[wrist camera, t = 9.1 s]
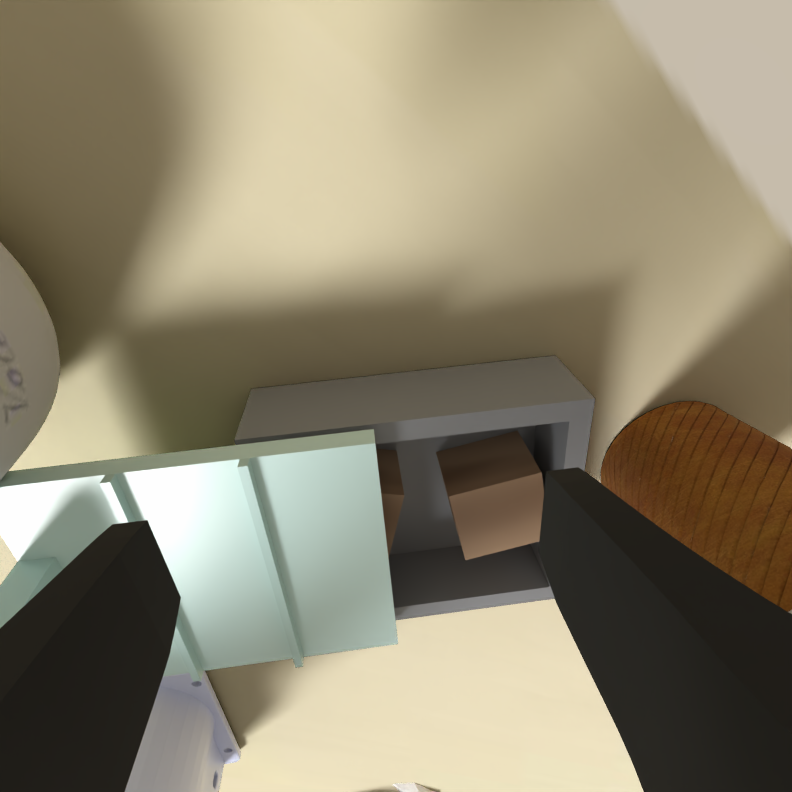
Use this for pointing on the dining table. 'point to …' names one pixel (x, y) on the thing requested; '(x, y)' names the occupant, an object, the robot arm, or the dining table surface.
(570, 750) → the dining table surface
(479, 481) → the walnut block
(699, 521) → the disposable coffee cup
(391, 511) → the walnut block
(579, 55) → the dining table surface
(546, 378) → the tub
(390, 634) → the lid
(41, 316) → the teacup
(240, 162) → the dining table surface
